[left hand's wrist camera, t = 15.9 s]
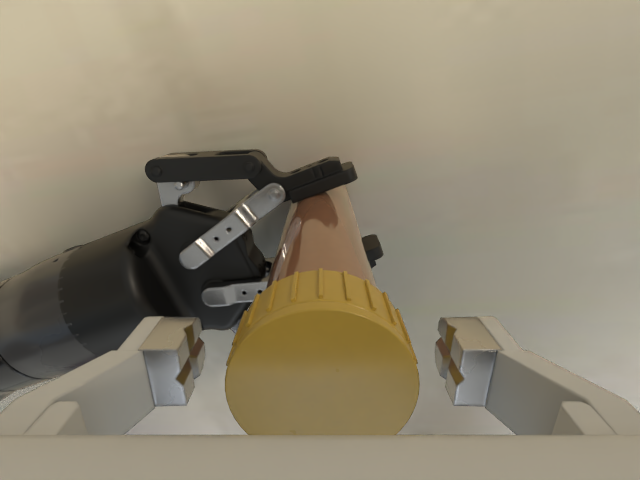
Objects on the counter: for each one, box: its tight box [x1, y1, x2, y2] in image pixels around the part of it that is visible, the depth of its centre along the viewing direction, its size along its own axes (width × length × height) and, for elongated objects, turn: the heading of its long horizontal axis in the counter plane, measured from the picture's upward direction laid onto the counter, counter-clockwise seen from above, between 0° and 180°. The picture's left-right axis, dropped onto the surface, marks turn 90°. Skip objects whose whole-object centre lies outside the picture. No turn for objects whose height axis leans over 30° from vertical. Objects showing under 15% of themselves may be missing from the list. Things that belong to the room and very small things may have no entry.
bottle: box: [266, 185, 377, 289], centre depth 18 cm, size 4×4×18 cm
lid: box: [225, 268, 419, 435], centre depth 10 cm, size 5×5×2 cm
